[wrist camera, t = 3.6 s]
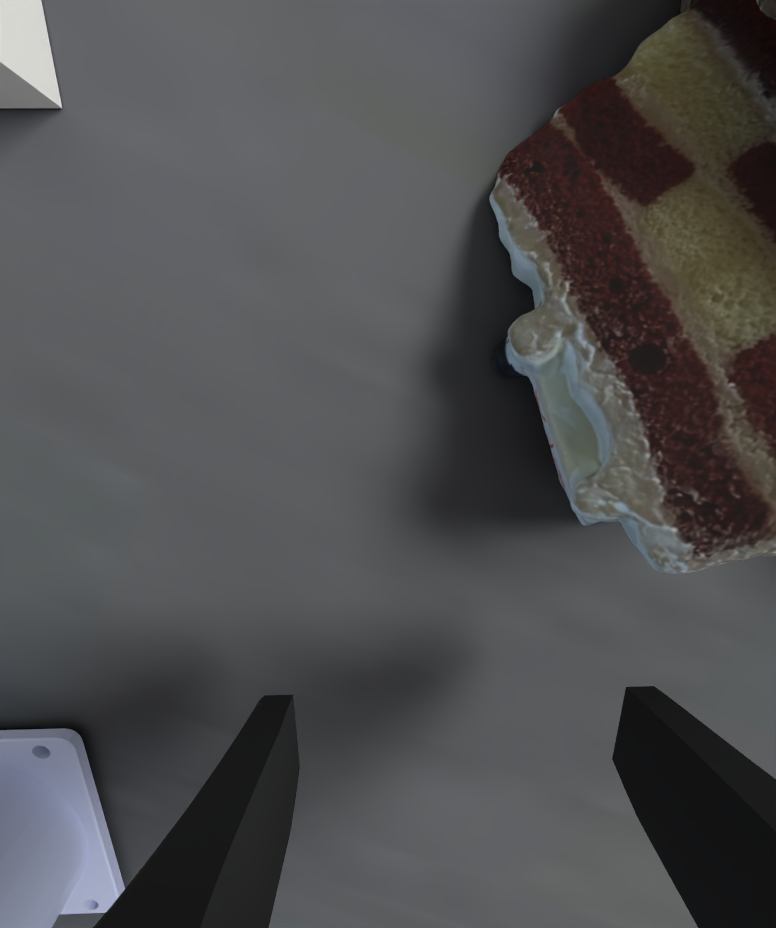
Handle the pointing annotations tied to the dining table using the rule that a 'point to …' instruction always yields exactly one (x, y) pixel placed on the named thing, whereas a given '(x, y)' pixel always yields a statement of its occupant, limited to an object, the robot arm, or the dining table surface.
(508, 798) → the dining table surface
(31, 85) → the socket bay
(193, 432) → the dining table surface
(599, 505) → the chocolate cake
